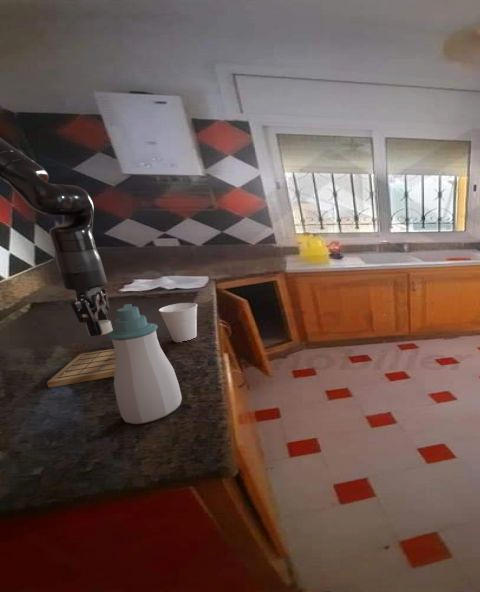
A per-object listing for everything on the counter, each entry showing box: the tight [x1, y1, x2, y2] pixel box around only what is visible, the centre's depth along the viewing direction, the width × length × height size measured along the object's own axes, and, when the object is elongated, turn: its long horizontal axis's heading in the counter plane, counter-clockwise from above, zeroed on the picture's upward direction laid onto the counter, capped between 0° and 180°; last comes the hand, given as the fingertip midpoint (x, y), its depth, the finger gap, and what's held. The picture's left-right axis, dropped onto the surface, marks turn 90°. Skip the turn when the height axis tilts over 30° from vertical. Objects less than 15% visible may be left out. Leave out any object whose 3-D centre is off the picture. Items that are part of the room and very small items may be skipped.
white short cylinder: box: [85, 319, 114, 337], centre depth 83 cm, size 5×5×3 cm
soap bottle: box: [106, 303, 183, 425], centre depth 64 cm, size 10×10×23 cm
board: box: [46, 348, 116, 389], centre depth 86 cm, size 17×17×2 cm
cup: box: [158, 302, 198, 343], centre depth 101 cm, size 10×10×11 cm
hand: (100, 331), depth 83 cm, fingers closed on white short cylinder, 4 cm apart
